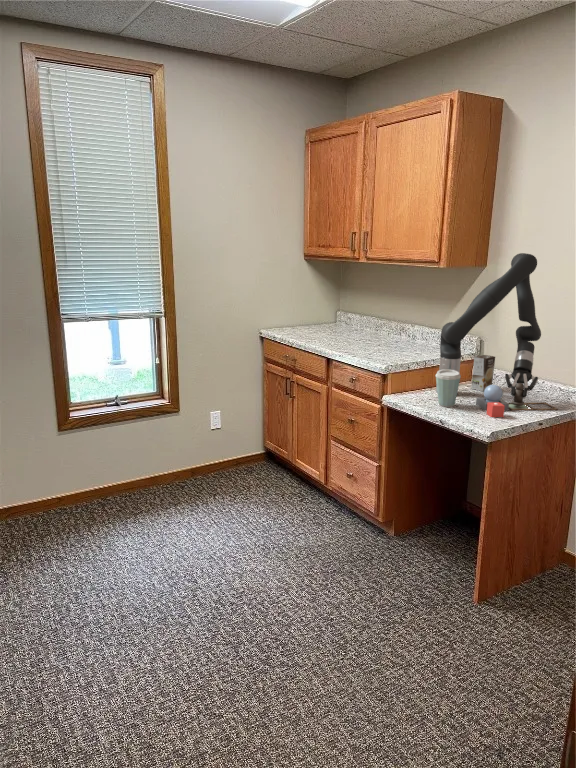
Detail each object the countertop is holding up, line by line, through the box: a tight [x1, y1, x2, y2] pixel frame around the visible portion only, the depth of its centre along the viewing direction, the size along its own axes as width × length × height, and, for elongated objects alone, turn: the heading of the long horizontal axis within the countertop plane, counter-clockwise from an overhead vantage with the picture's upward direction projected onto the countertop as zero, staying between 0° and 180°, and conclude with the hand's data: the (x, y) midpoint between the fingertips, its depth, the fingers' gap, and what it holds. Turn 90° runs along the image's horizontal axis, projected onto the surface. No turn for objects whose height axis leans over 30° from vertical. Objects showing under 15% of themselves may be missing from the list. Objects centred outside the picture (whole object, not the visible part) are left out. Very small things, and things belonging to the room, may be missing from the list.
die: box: [486, 402, 505, 419], centre depth 230 cm, size 5×5×5 cm
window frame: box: [507, 401, 559, 412], centre depth 244 cm, size 21×10×1 cm, turn 94°
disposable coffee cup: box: [435, 369, 462, 408], centre depth 243 cm, size 11×11×15 cm
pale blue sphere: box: [483, 384, 504, 402], centre depth 241 cm, size 8×8×9 cm
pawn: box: [511, 383, 525, 406], centre depth 242 cm, size 5×5×9 cm
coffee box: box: [470, 354, 496, 392], centre depth 272 cm, size 9×6×16 cm
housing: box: [475, 397, 509, 412], centre depth 242 cm, size 10×10×3 cm
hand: (518, 396), depth 240 cm, fingers closed on pawn, 3 cm apart
